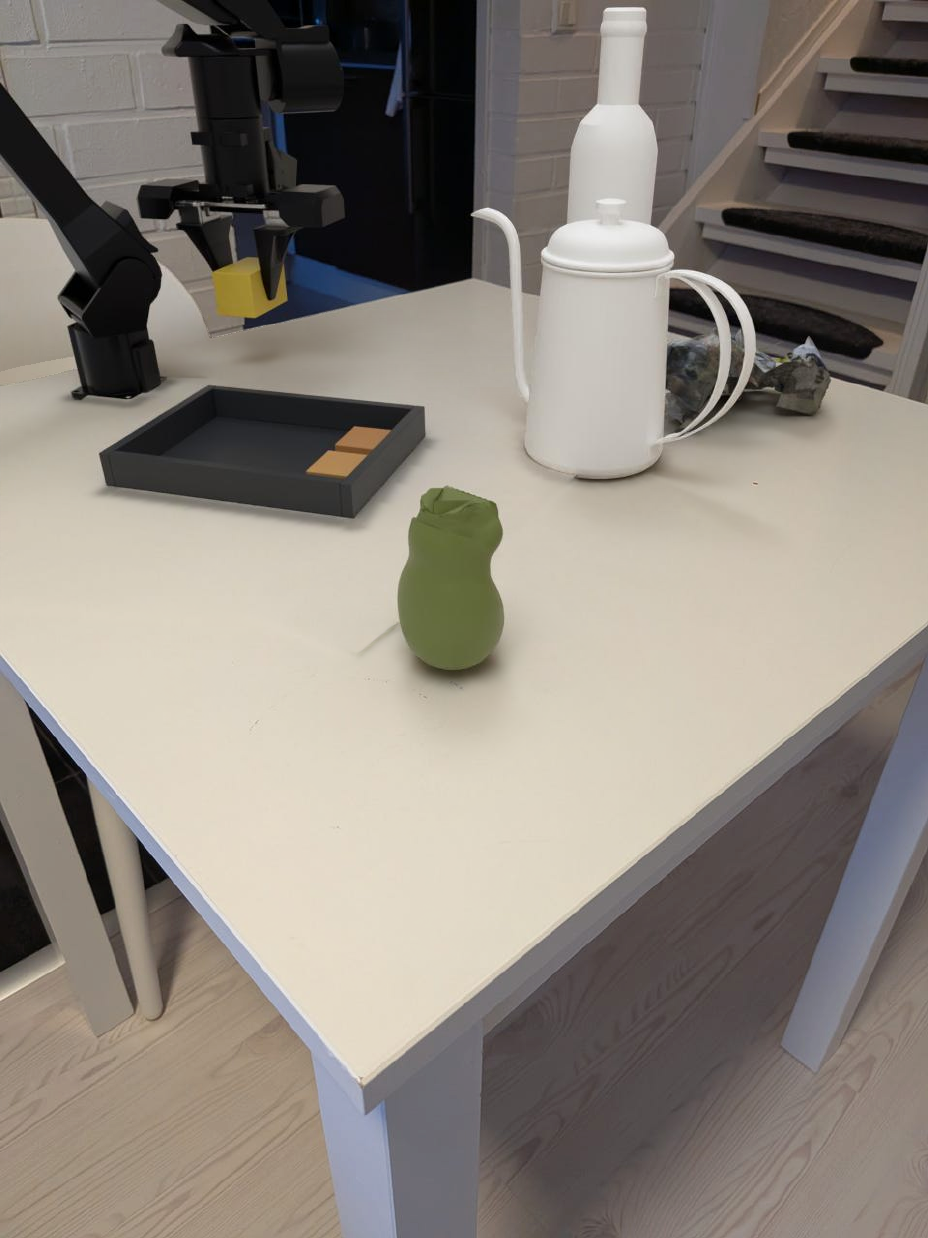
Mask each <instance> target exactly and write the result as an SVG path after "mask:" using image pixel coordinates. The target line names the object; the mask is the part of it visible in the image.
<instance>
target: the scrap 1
mask: <svg viewBox="0 0 928 1238" xmlns="http://www.w3.org/2000/svg"><path fill="white" fill-rule="evenodd" d="M366 456H367V455H363V454H355V453H346V452H337V451H327V452H326V453H325V454H324V455H323V456H322V457H321V458H320V459H319V460H318V461H317V462H315V463H314V464H313V465H312V466H311V467H310V468H309V469H308V470H307V471H306V474H309V475H317V476H325V477H333V478H342V479H345V478H346V477H347V476H348V475H349V474H350V473H351V471H352V470H353V469H354V468H355V467H356V466H357V465H358V464H359V463H360V462H361V461H362V460H363V459H364V458H365V457H366Z"/></svg>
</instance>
